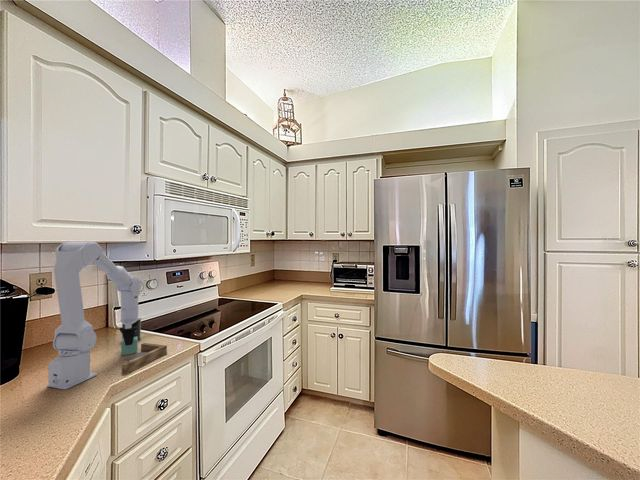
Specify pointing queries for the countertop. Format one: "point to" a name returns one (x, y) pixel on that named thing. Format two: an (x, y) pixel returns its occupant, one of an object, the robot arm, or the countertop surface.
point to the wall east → (152, 347)
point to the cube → (129, 347)
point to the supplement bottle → (138, 330)
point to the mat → (135, 356)
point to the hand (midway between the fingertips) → (129, 341)
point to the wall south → (142, 360)
